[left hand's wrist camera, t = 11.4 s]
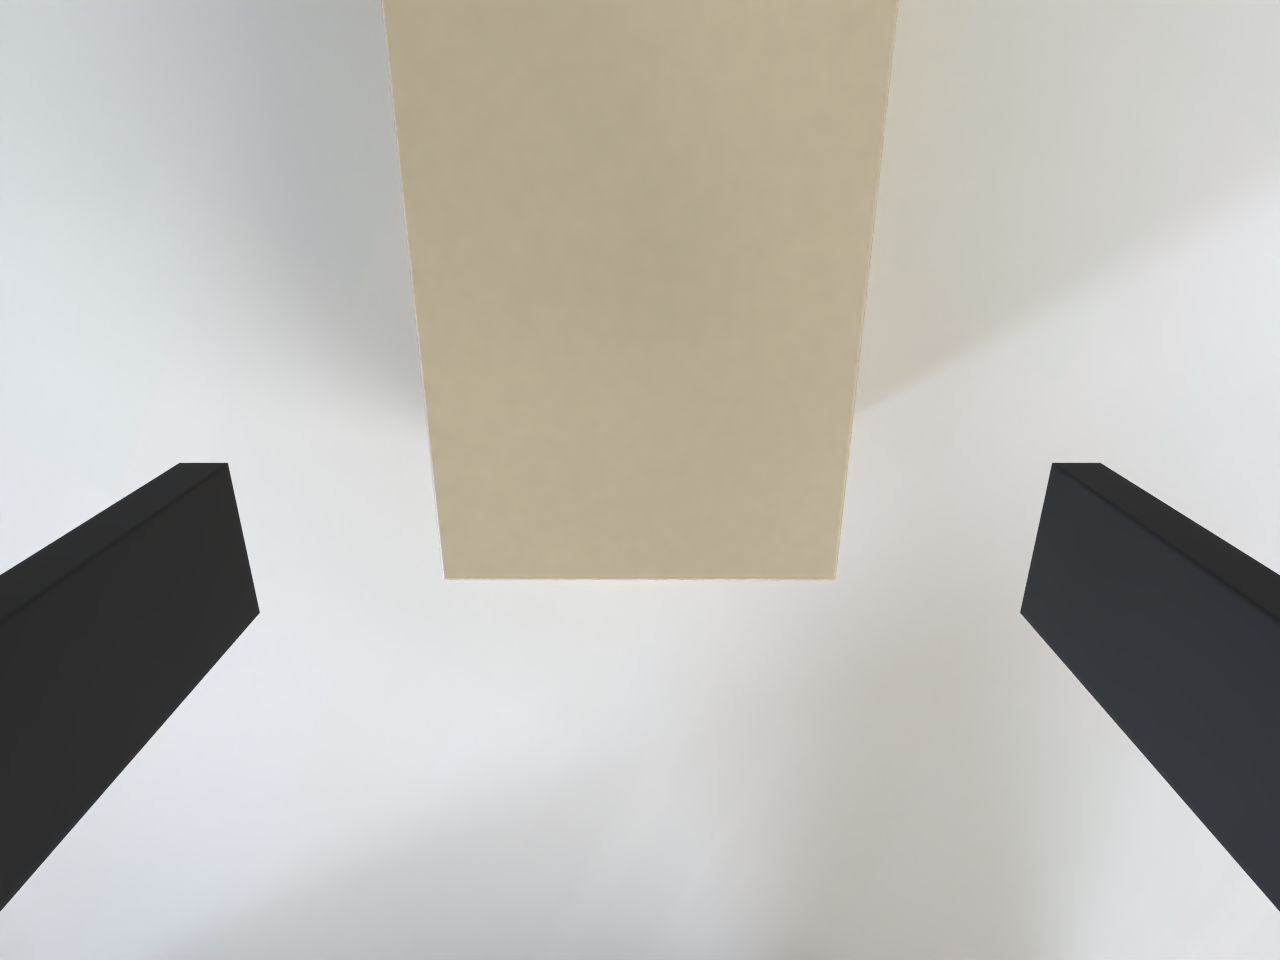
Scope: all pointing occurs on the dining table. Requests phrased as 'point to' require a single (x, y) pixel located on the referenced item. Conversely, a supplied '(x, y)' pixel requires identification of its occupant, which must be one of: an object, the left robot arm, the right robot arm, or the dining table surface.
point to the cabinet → (639, 276)
